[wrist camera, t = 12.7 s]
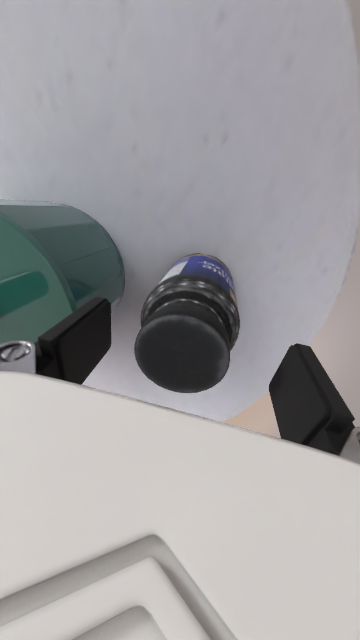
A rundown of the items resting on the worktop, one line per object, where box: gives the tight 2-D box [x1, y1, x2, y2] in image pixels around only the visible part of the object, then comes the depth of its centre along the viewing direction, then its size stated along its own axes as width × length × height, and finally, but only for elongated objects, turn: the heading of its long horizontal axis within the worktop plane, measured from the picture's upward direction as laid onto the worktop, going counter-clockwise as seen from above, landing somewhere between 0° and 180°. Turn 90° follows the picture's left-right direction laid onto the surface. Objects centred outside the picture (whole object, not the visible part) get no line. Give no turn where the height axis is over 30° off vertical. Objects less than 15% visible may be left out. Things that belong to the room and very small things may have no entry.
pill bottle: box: [134, 253, 240, 393], centre depth 15 cm, size 6×6×11 cm
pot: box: [0, 199, 125, 313], centre depth 17 cm, size 12×12×8 cm
